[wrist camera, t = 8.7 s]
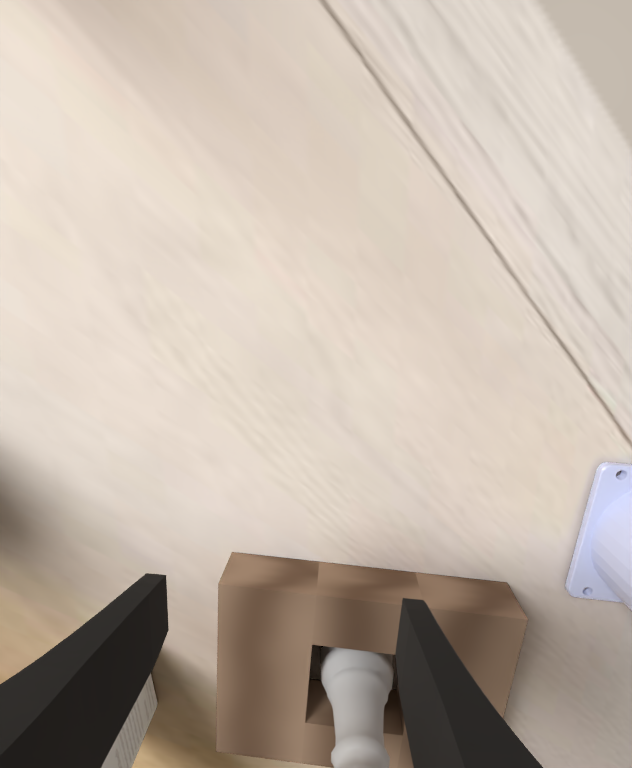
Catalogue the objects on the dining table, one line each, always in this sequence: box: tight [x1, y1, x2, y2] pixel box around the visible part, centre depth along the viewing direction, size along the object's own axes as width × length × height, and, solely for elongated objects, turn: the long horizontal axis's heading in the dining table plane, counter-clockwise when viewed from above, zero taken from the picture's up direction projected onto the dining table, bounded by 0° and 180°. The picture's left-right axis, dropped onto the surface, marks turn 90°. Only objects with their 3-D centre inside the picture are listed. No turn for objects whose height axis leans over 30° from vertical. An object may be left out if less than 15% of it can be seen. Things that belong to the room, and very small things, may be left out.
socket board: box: [216, 552, 528, 768], centre depth 22 cm, size 16×12×2 cm
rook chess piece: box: [320, 646, 394, 768], centre depth 19 cm, size 4×4×8 cm
